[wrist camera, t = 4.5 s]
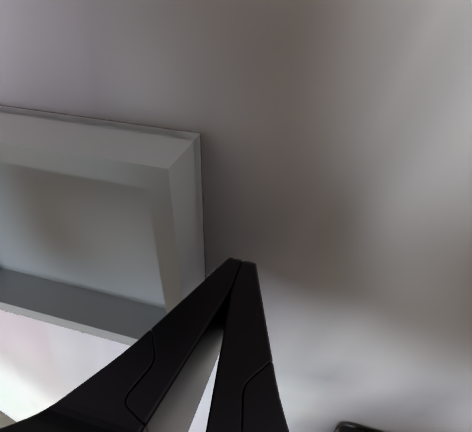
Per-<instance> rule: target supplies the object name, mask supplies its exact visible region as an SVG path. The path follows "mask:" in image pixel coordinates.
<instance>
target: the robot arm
mask: <svg viewBox="0 0 472 432" xmlns="http://www.w3.org/2000/svg"><path fill="white" fill-rule="evenodd" d="M219 352H220V355H219ZM218 355H219V361H218V366H217V372H216V378H215V383H214V389H213V394H212V400H211V406H210V411H209V417H208V423H207V428H206V432H289V429H288V426H287V423H286V419H285V416H284V412H283V408H282V404H281V400H280V397H279V392H278V387H277V382H276V377H275V371H274V365H273V363H272V361H273V360H272V355H271V349H270V343H269V337H268V331H267V325H266V319H265V314H264V308H263V302H262V296H261V290H260V284H259V278H258V273H257V267H256V264H255V263H254V262H249V261H243V262H242V260H240V259H235V258H228V259H227V260H226V261H225V262H224V263H223V264H222V265H221V266H220V267H218V268H217V269H216V270H215V271H214V272H213V273H212V274H211V275H210V276H208V277H207V278H206V279H205V280H204V281H203V282H202V283H201V284H200V285H199V286H197V287H196V288H195V289H194V290H193V291H192V292H191V293H190V294H189V295H188V296H186V297H185V298H184V299H183V300H182V301H181V302H180V303H179V304H178V305H176V306H175V307H174V308H173V309H172V310H171V311H170V312H169V313H168V314H167V315H165V316H164V317H163V318H162V319H161V320H160V321H159V322H158V323H157V324H156V325H154V326H153V327H152V328H151V330H149V331H148V332H146V333H145V334H144V335H143V336H142V337H141V338H140V339H139V340H138V341H136V342H135V343H134V344H133V345H132V346H131V347H129V348H128V349H127V350H126V351H125V352H124V353H122V354H121V355H120V356H118V357H117V358H116V359H115V360H113V361H112V362H111V363H109V364H108V365H107V366H105V367H104V368H103V369H101V370H100V371H99V372H97V373H96V374H95V375H93V376H92V377H91V378H89V379H88V380H86V381H85V382H84V383H82V384H81V385H80V386H78V387H77V388H76V389H74V390H73V391H72V392H70V393H69V394H67V395H66V396H65V397H63V398H62V399H61V400H59V401H58V402H56V403H55V404H53V405H52V406H50V407H49V408H47V409H45V410H43V411H41V412H40V413H38V414H36V415H34V416H31V417H29V418H27V419H24V420H21V421H19V422H16V423H13V424H11V425H8V426H5V427H2V428H0V432H188V431H189V428H190V426H191V423H192V421H193V418H194V415H195V413H196V410H197V408H198V405H199V403H200V400H201V398H202V395H203V393H204V390H205V388H206V385H207V383H208V380H209V377H210V375H211V372H212V370H213V367H214V365H215V362H216V360H217V357H218ZM335 432H366V431H362V430H359V429H355V428H352V427H348V426H340V427H338V428H337V429H336V431H335Z"/></svg>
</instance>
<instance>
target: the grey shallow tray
mask: <svg viewBox="0 0 472 432" xmlns="http://www.w3.org/2000/svg"><path fill="white" fill-rule="evenodd" d="M204 280H205V263H204V234H203V205H202V176H201V147H200V133H193V132H186V131H179V130H172V129H164V128H157V127H150V126H143V125H136V124H129V123H122V122H115V121H107V120H100V119H93V118H86V117H79V116H72V115H65V114H57V113H50V112H43V111H36V110H29V109H22V108H15V107H7V106H0V310H4V311H8V312H11V313H15V314H18V315H22V316H26V317H29V318H33V319H36V320H40V321H44V322H47V323H51V324H54V325H58V326H62V327H65V328H69V329H72V330H76V331H80V332H83V333H87V334H91V335H94V336H98V337H101V338H105V339H109V340H112V341H116V342H119V343H123V344H127V345H130V346H132V345H133V344H134V343H135V342H136V341H138V340H139V339H140V338H141V337H142V336H143V335H144V334H145V333H146V332H148V331H149V330H151V328H152V327H153V326H154V325H156V324H157V323H158V322H159V321H160V320H161V319H162V318H163V317H164V316H165V315H167V314H168V313H169V312H170V311H171V310H172V309H173V308H174V307H175V306H176V305H178V304H179V303H180V302H181V301H182V300H183V299H184V298H185V297H186V296H188V295H189V294H190V293H191V292H192V291H193V290H194V289H195V288H196V287H197V286H199V285H200V284H201V283H202V282H203V281H204Z"/></svg>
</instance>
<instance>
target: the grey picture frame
mask: <svg viewBox="0 0 472 432" xmlns="http://www.w3.org/2000/svg"><path fill="white" fill-rule="evenodd" d="M13 423H16V422H15V421H14V420H12V419H11V418H10V417H8V416H7V415H5V414H4V413H3V412H1V411H0V428H2V427H5V426H8V425H11V424H13Z"/></svg>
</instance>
